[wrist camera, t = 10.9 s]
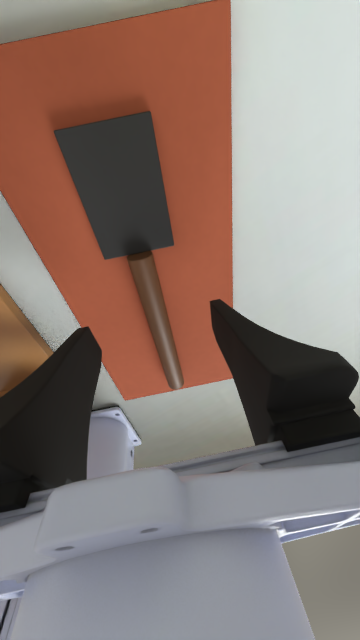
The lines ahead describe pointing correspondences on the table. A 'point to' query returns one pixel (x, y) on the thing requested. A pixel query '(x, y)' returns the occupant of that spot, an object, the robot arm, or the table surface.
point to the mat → (176, 166)
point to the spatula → (127, 209)
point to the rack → (18, 345)
